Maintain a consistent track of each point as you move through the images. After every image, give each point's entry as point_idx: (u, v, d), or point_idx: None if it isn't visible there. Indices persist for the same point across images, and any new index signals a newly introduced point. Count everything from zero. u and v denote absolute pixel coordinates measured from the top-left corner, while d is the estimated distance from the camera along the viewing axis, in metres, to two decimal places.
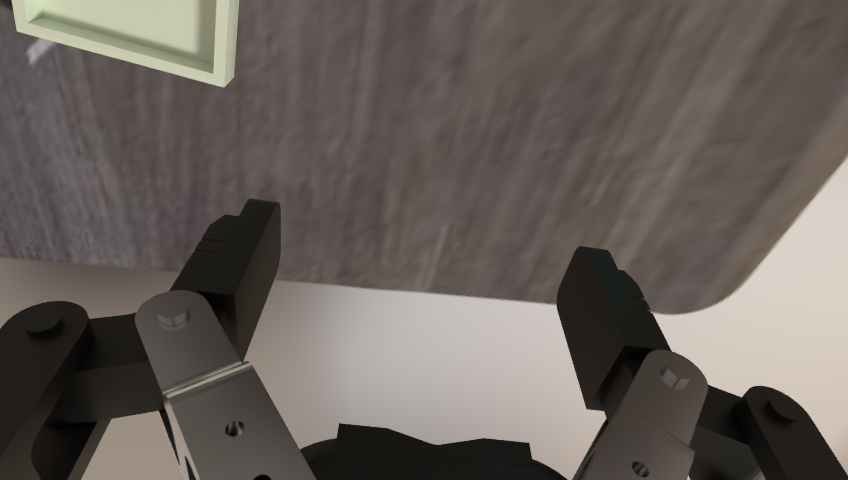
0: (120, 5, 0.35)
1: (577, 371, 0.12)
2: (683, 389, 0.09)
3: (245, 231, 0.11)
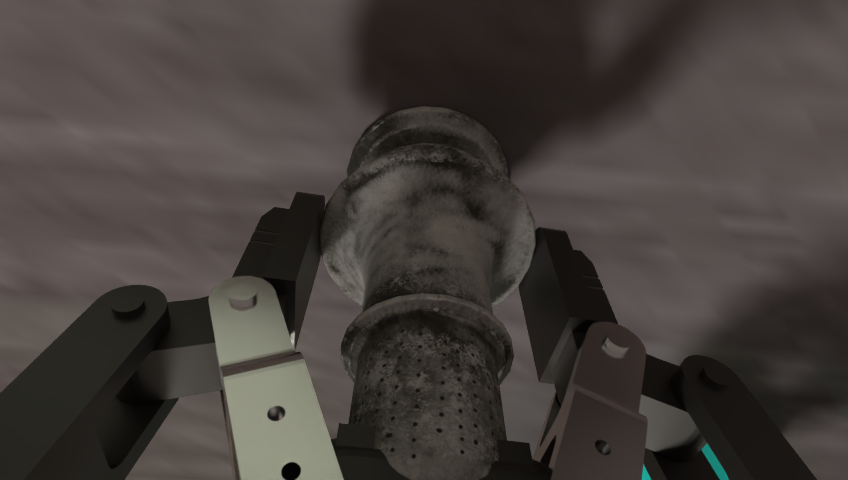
0: None
1: (533, 347, 0.13)
2: (621, 357, 0.10)
3: (297, 222, 0.12)
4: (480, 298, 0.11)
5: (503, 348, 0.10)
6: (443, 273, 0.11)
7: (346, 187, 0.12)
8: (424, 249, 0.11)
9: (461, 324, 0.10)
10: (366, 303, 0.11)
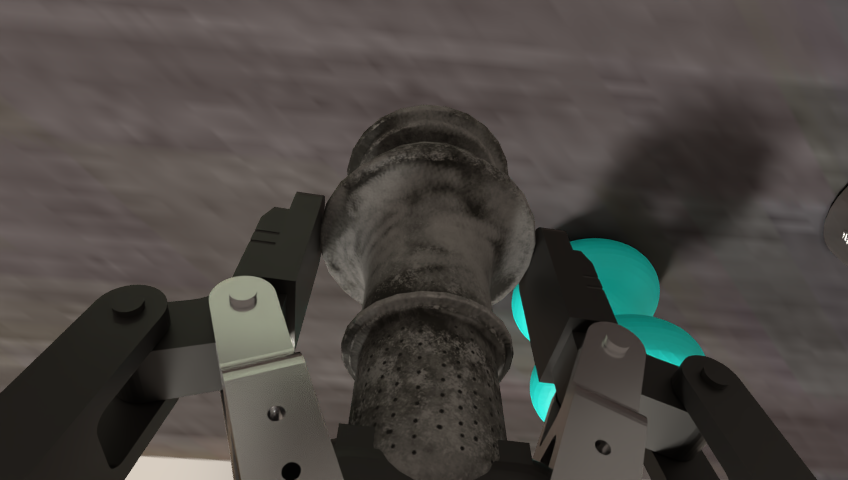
0: None
1: (533, 347, 0.13)
2: (621, 357, 0.10)
3: (297, 222, 0.12)
4: (481, 296, 0.11)
5: (502, 345, 0.10)
6: (443, 271, 0.11)
7: (346, 185, 0.13)
8: (424, 248, 0.11)
9: (461, 322, 0.10)
10: (366, 301, 0.11)
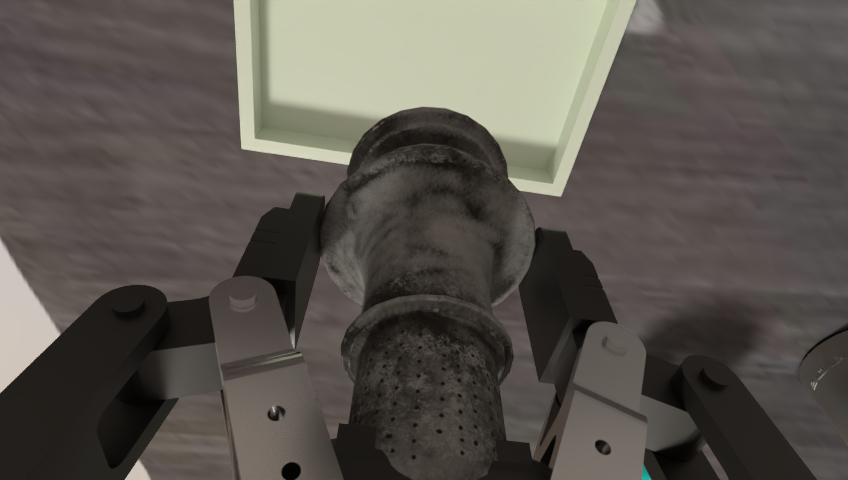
0: (303, 13, 0.27)
1: (533, 347, 0.13)
2: (621, 357, 0.10)
3: (297, 222, 0.12)
4: (480, 299, 0.11)
5: (503, 349, 0.10)
6: (443, 274, 0.11)
7: (346, 188, 0.12)
8: (424, 250, 0.11)
9: (461, 325, 0.10)
10: (366, 304, 0.11)
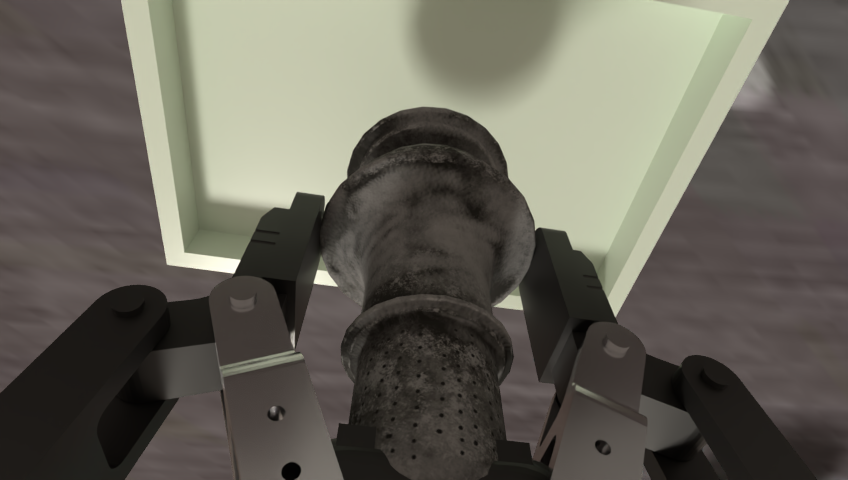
0: (247, 83, 0.19)
1: (533, 346, 0.13)
2: (621, 357, 0.10)
3: (297, 222, 0.12)
4: (480, 299, 0.11)
5: (502, 348, 0.10)
6: (443, 274, 0.11)
7: (346, 187, 0.12)
8: (424, 250, 0.11)
9: (461, 325, 0.10)
10: (366, 304, 0.11)
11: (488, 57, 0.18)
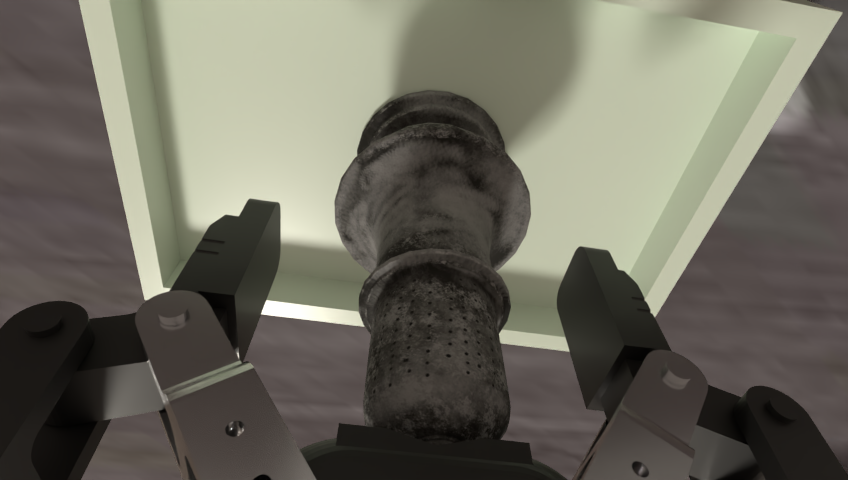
0: (229, 105, 0.17)
1: (577, 371, 0.12)
2: (683, 389, 0.09)
3: (245, 231, 0.11)
4: (482, 257, 0.12)
5: (501, 298, 0.12)
6: (448, 234, 0.12)
7: (360, 161, 0.14)
8: (431, 215, 0.13)
9: (465, 275, 0.11)
10: (380, 261, 0.12)
11: (496, 77, 0.16)
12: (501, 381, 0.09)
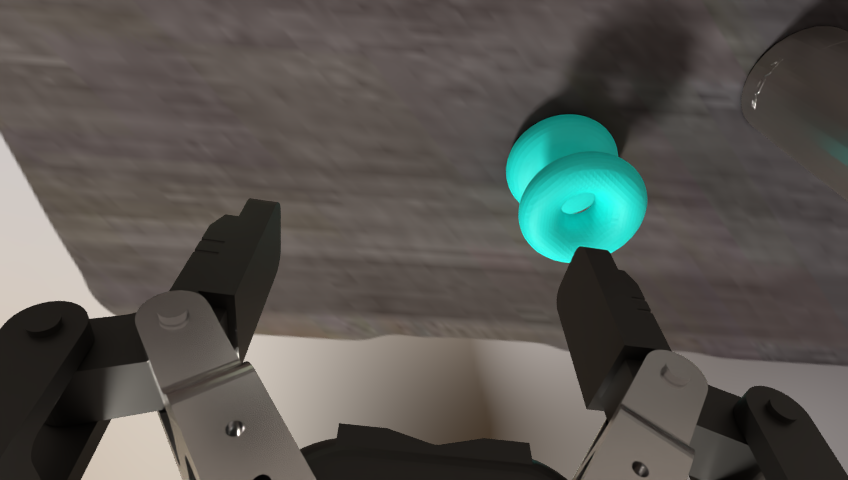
0: None
1: (577, 371, 0.12)
2: (683, 389, 0.09)
3: (245, 231, 0.11)
4: None
5: None
6: None
7: None
8: None
9: None
10: None
11: None
12: None
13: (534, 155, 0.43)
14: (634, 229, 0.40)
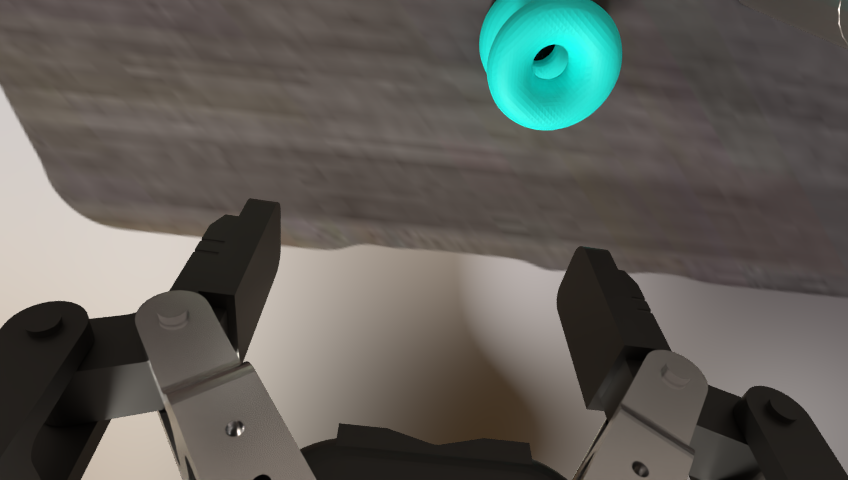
0: None
1: (577, 371, 0.12)
2: (683, 389, 0.09)
3: (245, 231, 0.11)
4: None
5: None
6: None
7: None
8: None
9: None
10: None
11: None
12: None
13: (507, 18, 0.41)
14: (608, 86, 0.37)
